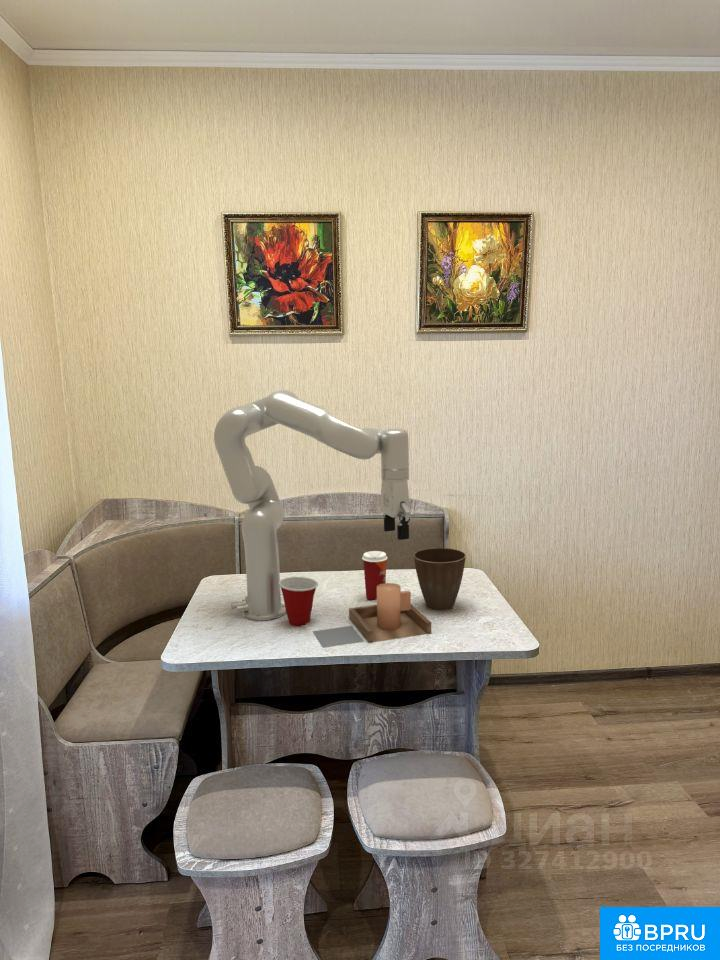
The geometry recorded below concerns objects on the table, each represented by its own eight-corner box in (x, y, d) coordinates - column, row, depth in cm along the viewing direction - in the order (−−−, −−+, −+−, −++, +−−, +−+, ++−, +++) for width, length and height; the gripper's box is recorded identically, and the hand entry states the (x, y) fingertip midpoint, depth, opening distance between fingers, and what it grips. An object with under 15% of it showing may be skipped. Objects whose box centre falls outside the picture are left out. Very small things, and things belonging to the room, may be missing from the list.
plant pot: (408, 614, 194) (408, 560, 192) (419, 596, 208) (419, 546, 206) (461, 619, 190) (461, 564, 187) (468, 600, 204) (469, 549, 201)
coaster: (322, 649, 172) (322, 647, 172) (312, 633, 182) (312, 631, 182) (364, 643, 175) (364, 641, 175) (351, 627, 186) (351, 625, 186)
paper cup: (388, 602, 204) (387, 557, 202) (362, 602, 204) (361, 557, 202) (387, 593, 212) (387, 550, 209) (363, 593, 212) (362, 550, 209)
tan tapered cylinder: (381, 631, 181) (381, 592, 179) (374, 622, 187) (373, 584, 185) (414, 626, 184) (414, 588, 182) (405, 618, 190) (405, 580, 188)
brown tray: (368, 644, 174) (368, 631, 174) (349, 620, 191) (348, 608, 190) (431, 635, 180) (431, 622, 179) (407, 612, 196) (407, 600, 195)
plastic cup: (316, 630, 184) (315, 588, 182) (277, 630, 185) (275, 588, 183) (321, 615, 195) (320, 575, 193) (284, 615, 196) (282, 575, 194)
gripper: (371, 470, 193) (372, 529, 196) (394, 480, 177) (395, 544, 180) (395, 468, 196) (396, 526, 199) (421, 478, 180) (421, 540, 183)
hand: (396, 534), depth 189 cm, fingers open, 9 cm apart
